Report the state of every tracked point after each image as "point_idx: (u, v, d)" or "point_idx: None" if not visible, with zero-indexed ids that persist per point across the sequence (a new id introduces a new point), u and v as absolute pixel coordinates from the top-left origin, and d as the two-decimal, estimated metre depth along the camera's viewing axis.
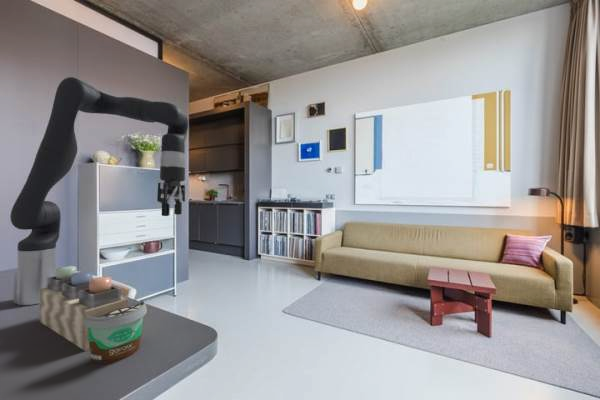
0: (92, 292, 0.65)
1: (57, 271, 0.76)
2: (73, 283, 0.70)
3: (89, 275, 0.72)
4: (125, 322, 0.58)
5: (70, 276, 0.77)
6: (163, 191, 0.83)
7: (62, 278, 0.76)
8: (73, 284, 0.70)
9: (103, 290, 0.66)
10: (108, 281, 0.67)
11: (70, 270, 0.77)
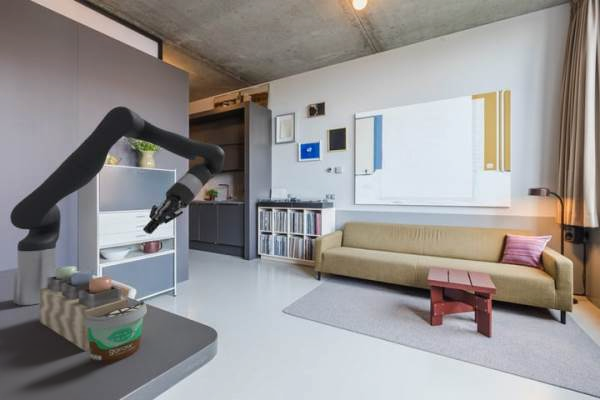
0: (92, 292, 0.65)
1: (57, 271, 0.76)
2: (73, 283, 0.70)
3: (89, 275, 0.72)
4: (125, 322, 0.58)
5: (70, 276, 0.77)
6: (173, 216, 0.79)
7: (62, 278, 0.76)
8: (73, 284, 0.70)
9: (103, 290, 0.66)
10: (108, 281, 0.67)
11: (70, 270, 0.77)
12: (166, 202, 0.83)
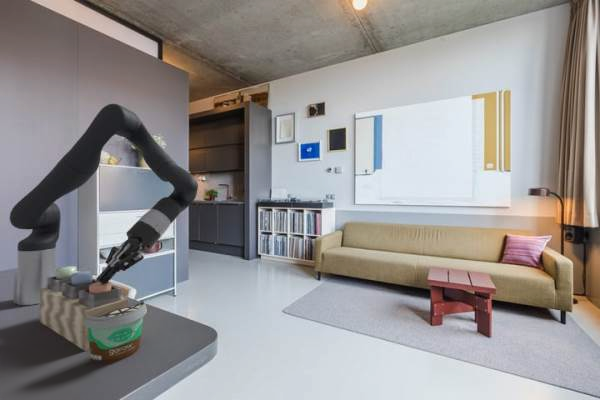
0: None
1: (57, 271, 0.76)
2: (73, 283, 0.70)
3: (89, 275, 0.72)
4: (125, 322, 0.58)
5: (70, 276, 0.77)
6: (132, 263, 0.69)
7: (62, 278, 0.76)
8: (73, 284, 0.70)
9: None
10: (108, 286, 0.67)
11: (70, 270, 0.77)
12: (126, 244, 0.73)
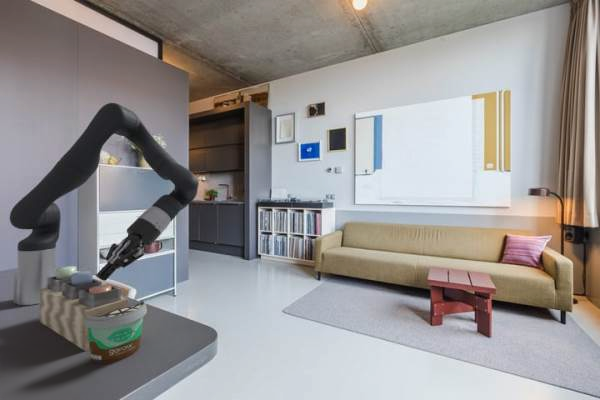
0: None
1: (57, 271, 0.76)
2: (73, 283, 0.70)
3: (89, 275, 0.72)
4: (125, 322, 0.58)
5: (70, 276, 0.77)
6: (132, 260, 0.69)
7: (62, 278, 0.76)
8: (73, 284, 0.70)
9: None
10: (108, 290, 0.67)
11: (70, 270, 0.77)
12: (126, 241, 0.73)
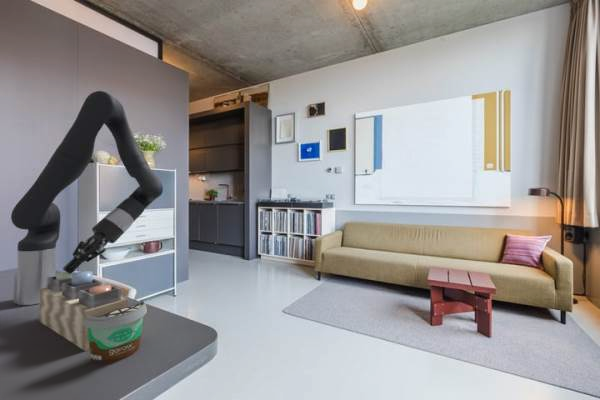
0: None
1: (57, 276, 0.76)
2: (73, 283, 0.70)
3: (89, 275, 0.72)
4: (125, 322, 0.58)
5: None
6: (95, 255, 0.80)
7: None
8: (73, 284, 0.70)
9: None
10: (108, 290, 0.67)
11: (70, 275, 0.77)
12: (91, 239, 0.83)
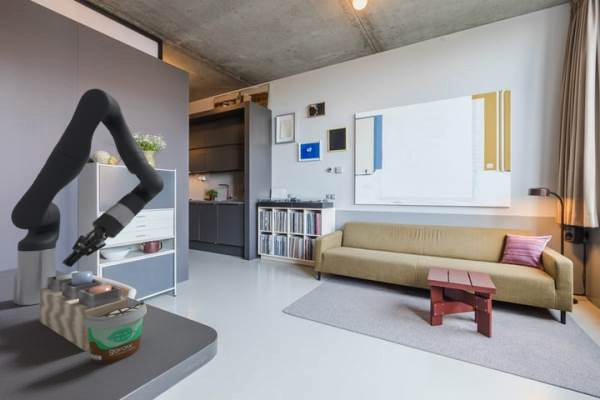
0: None
1: (57, 279, 0.76)
2: (73, 283, 0.70)
3: (89, 275, 0.72)
4: (125, 322, 0.58)
5: None
6: (95, 249, 0.80)
7: None
8: (73, 284, 0.70)
9: None
10: (108, 290, 0.67)
11: (70, 277, 0.77)
12: (91, 233, 0.83)
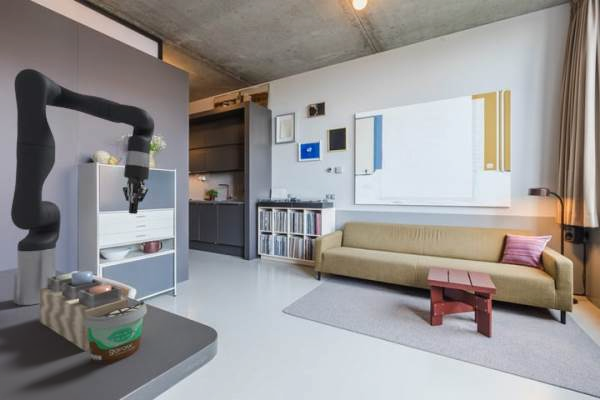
0: None
1: (57, 279, 0.76)
2: (73, 283, 0.70)
3: (89, 275, 0.72)
4: (125, 322, 0.58)
5: None
6: (143, 195, 0.96)
7: None
8: (73, 284, 0.70)
9: None
10: (108, 290, 0.67)
11: (70, 277, 0.77)
12: (130, 184, 0.97)
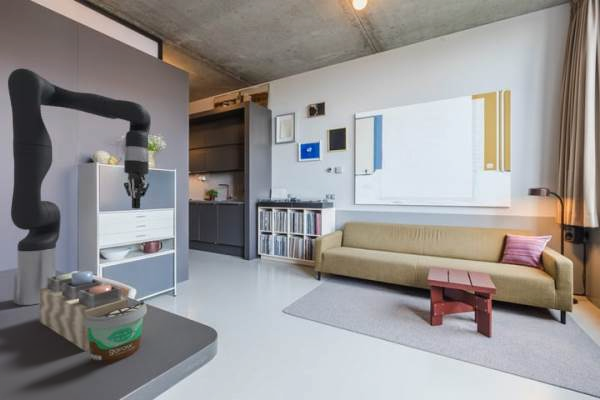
0: None
1: (57, 279, 0.76)
2: (73, 283, 0.70)
3: (89, 275, 0.72)
4: (125, 322, 0.58)
5: None
6: (145, 190, 0.97)
7: None
8: (73, 284, 0.70)
9: None
10: (108, 290, 0.67)
11: (70, 277, 0.77)
12: (131, 179, 0.98)
